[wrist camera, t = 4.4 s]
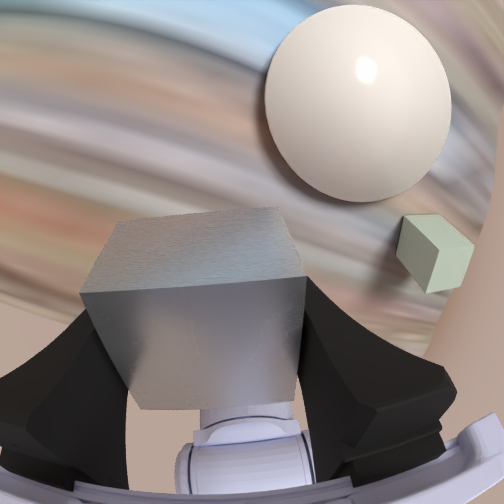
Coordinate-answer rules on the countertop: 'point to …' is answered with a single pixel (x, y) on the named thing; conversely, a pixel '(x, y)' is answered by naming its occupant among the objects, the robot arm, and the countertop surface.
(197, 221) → the grey square block
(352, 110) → the cream round disc
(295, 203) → the countertop surface
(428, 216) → the block
